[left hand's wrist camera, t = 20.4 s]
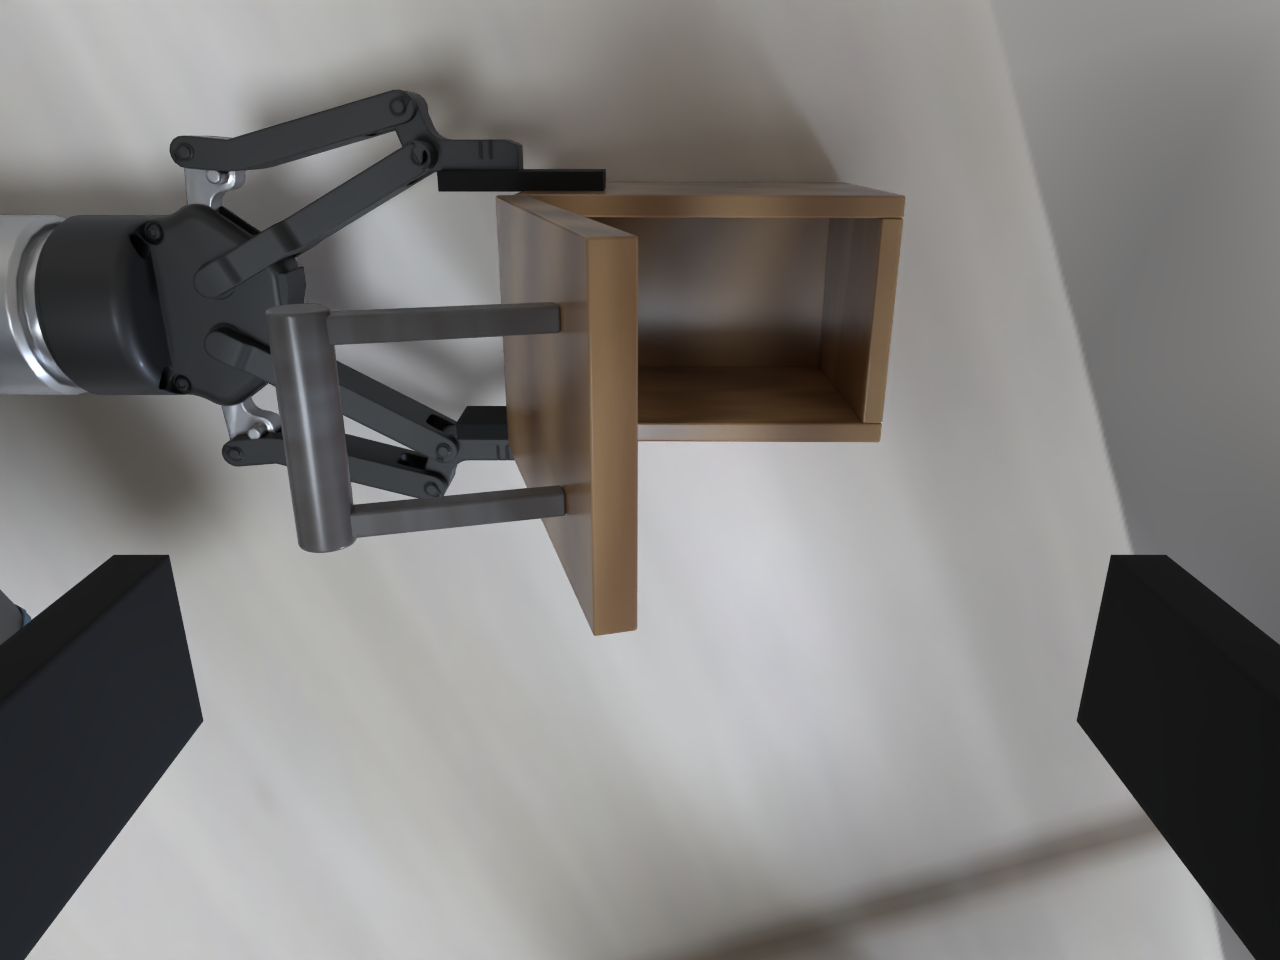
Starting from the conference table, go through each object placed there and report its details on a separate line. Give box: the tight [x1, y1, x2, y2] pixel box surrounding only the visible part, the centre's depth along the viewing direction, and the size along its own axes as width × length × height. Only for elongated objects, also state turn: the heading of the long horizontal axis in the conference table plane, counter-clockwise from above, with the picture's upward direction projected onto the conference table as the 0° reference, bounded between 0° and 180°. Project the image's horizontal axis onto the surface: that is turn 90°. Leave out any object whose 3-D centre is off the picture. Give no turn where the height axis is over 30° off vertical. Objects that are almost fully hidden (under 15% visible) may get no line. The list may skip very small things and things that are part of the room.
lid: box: [265, 195, 638, 636], centre depth 27 cm, size 15×10×8 cm
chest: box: [515, 182, 905, 442], centre depth 40 cm, size 14×10×10 cm, turn 90°
